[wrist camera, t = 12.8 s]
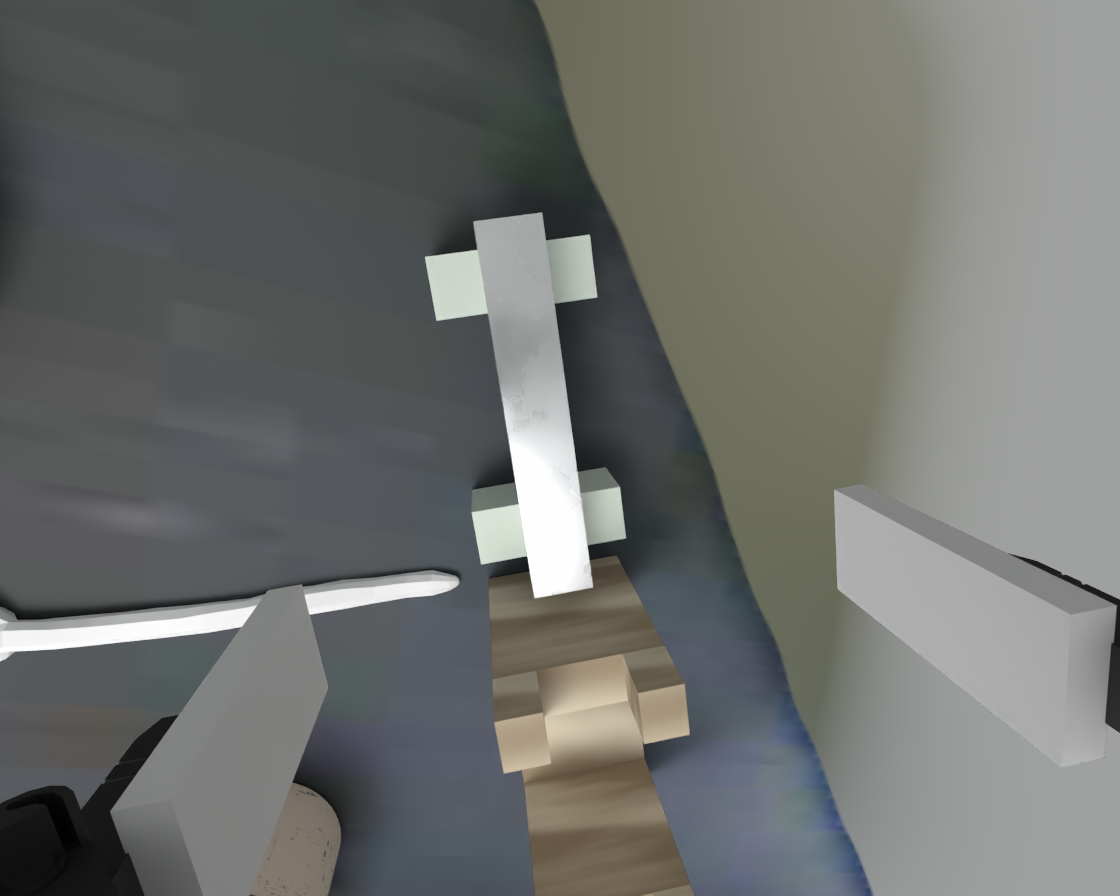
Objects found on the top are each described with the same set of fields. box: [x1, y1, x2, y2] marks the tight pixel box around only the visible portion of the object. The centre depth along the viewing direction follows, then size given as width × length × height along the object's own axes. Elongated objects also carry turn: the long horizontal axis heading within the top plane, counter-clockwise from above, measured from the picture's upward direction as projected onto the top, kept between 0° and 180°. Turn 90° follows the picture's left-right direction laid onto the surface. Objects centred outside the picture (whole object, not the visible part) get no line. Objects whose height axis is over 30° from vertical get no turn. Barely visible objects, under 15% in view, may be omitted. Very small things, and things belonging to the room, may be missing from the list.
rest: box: [425, 235, 626, 564], centre depth 35 cm, size 16×8×4 cm, turn 8°
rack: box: [488, 556, 694, 896], centre depth 35 cm, size 16×8×14 cm, turn 8°
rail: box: [473, 212, 593, 598], centre depth 31 cm, size 18×3×3 cm, turn 8°
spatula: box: [0, 570, 459, 661], centre depth 36 cm, size 28×4×3 cm, turn 95°
